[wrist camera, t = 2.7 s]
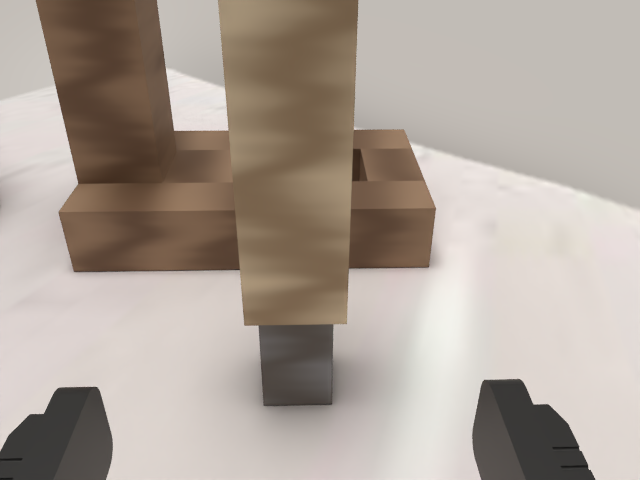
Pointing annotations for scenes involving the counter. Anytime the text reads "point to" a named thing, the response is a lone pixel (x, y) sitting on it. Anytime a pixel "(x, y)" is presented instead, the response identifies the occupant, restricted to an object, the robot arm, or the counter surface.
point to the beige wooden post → (292, 180)
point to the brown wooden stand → (188, 159)
